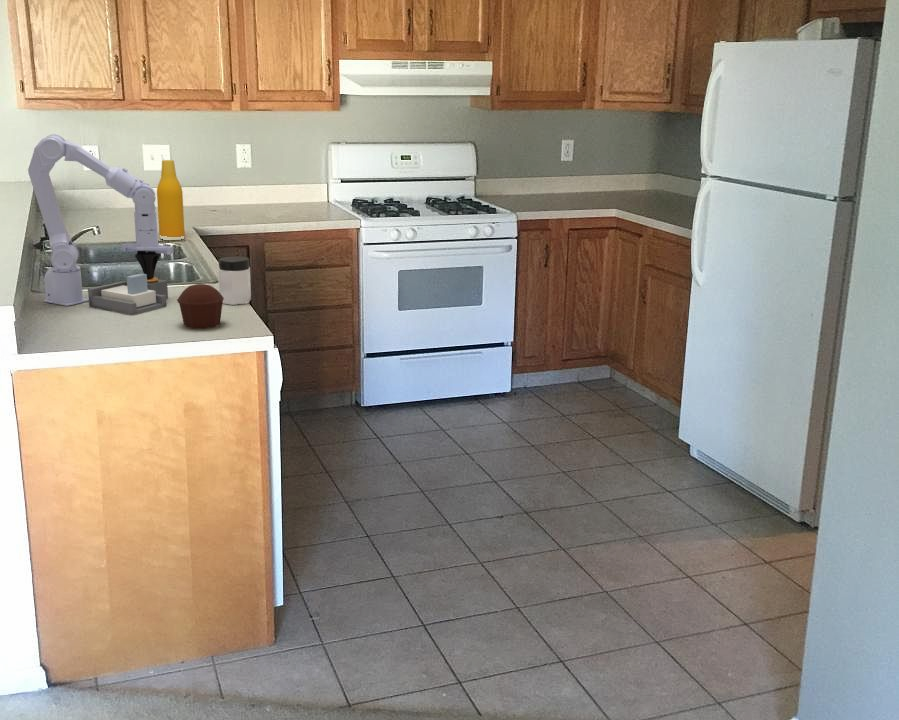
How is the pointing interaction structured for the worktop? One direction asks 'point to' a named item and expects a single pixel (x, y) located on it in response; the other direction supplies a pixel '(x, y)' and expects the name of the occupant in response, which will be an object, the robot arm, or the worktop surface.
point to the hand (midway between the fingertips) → (149, 278)
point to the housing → (126, 306)
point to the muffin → (201, 306)
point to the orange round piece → (152, 280)
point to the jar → (234, 280)
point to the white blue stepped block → (132, 291)
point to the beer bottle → (170, 202)
